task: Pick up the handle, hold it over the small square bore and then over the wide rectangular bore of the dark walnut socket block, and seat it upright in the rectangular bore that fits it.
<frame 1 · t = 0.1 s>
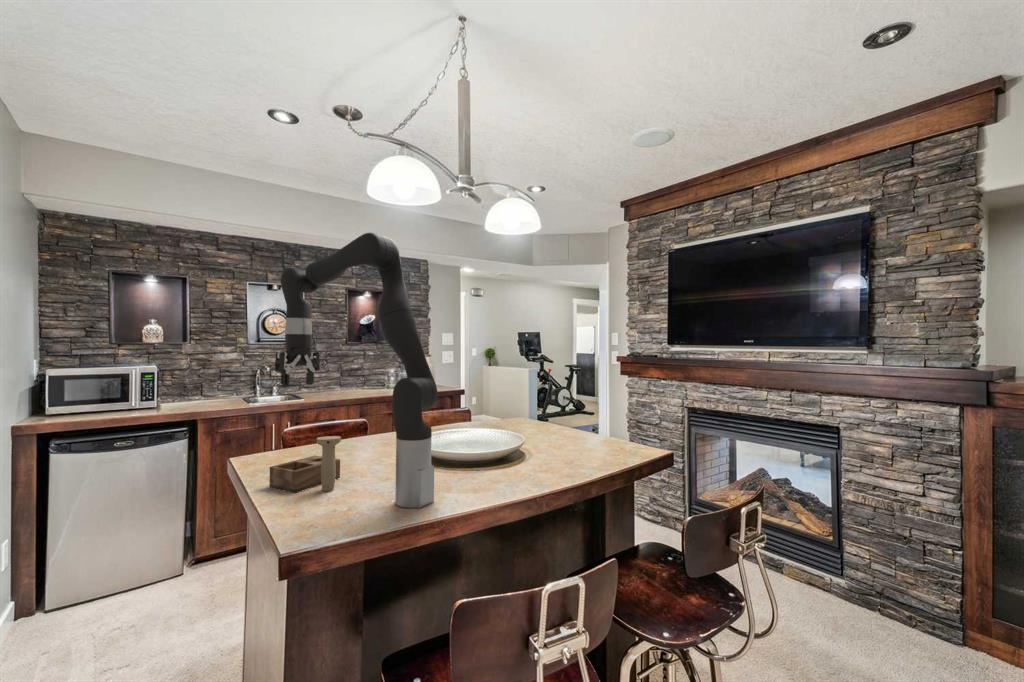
hand: (297, 385, 140), 29 cm above the countertop, tool pointing down, fingers open, 8 cm apart
socket block: (305, 482, 136), on the countertop
handle: (328, 490, 129), on the countertop
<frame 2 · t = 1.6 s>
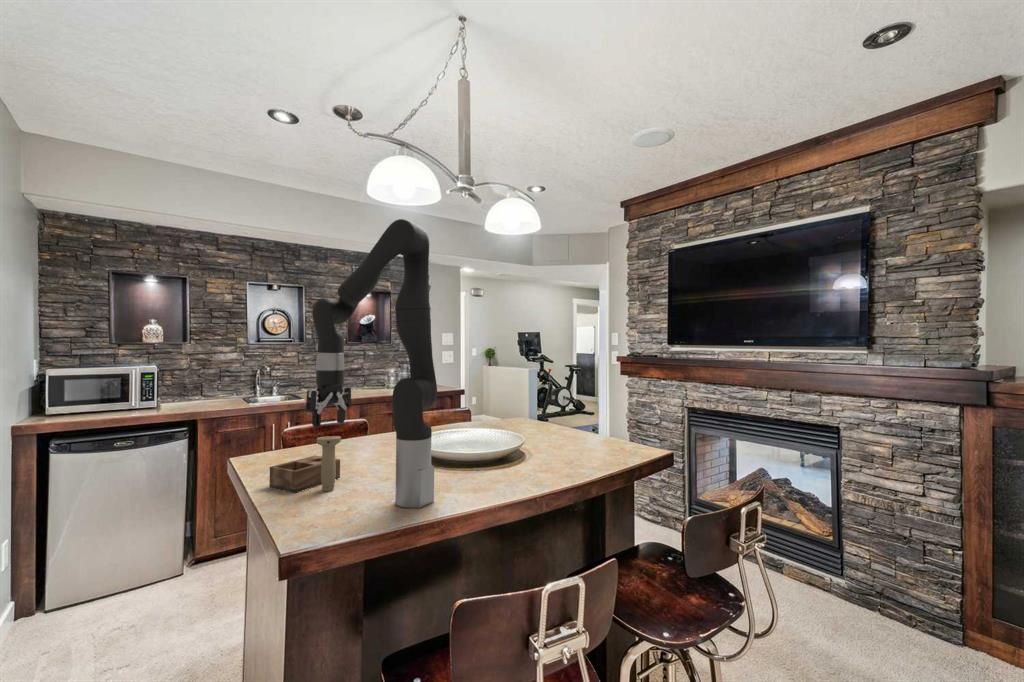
hand: (329, 424, 130), 19 cm above the countertop, tool pointing down, fingers open, 8 cm apart
nothing on the countertop moved.
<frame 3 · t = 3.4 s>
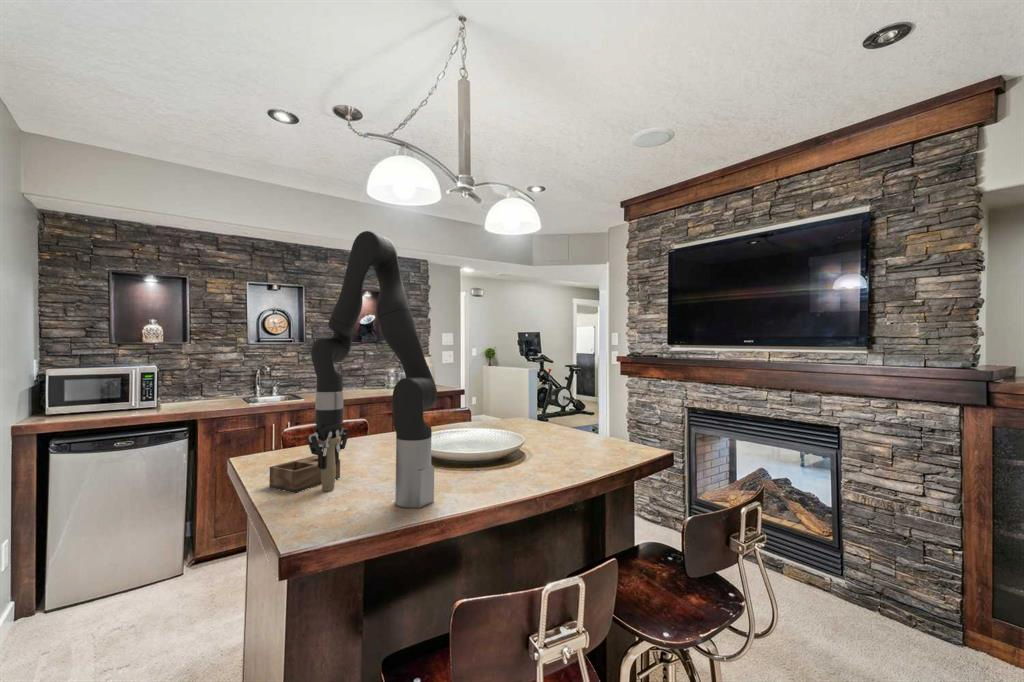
hand: (328, 466, 129), 7 cm above the countertop, tool pointing down, fingers closed on handle, 3 cm apart
handle: (328, 490, 129), on the countertop, touching gripper
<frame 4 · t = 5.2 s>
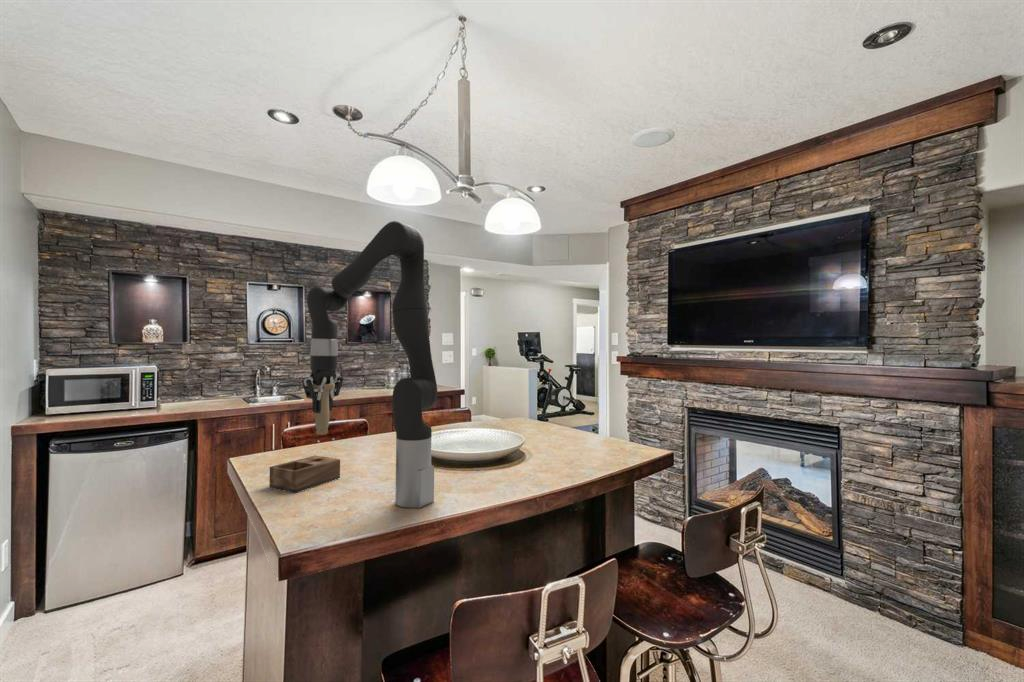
hand: (322, 411, 134), 22 cm above the countertop, tool pointing down, fingers closed on handle, 3 cm apart
handle: (321, 434, 134), point 15 cm above the countertop, touching gripper
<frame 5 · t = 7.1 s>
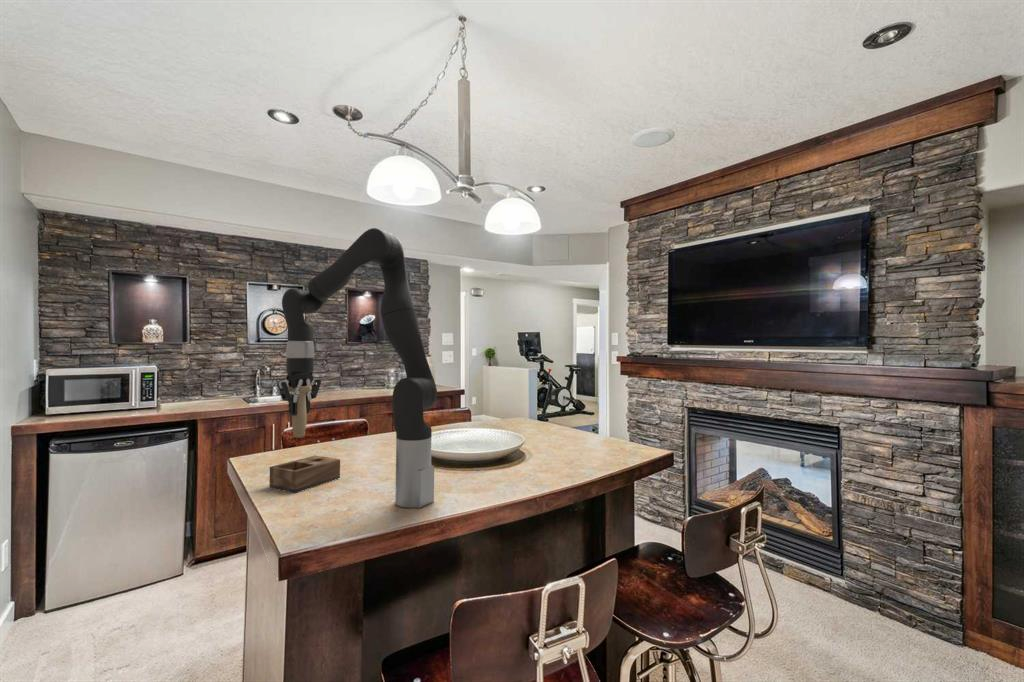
hand: (299, 414, 134), 21 cm above the countertop, tool pointing down, fingers closed on handle, 3 cm apart
handle: (299, 437, 134), point 14 cm above the countertop, touching gripper
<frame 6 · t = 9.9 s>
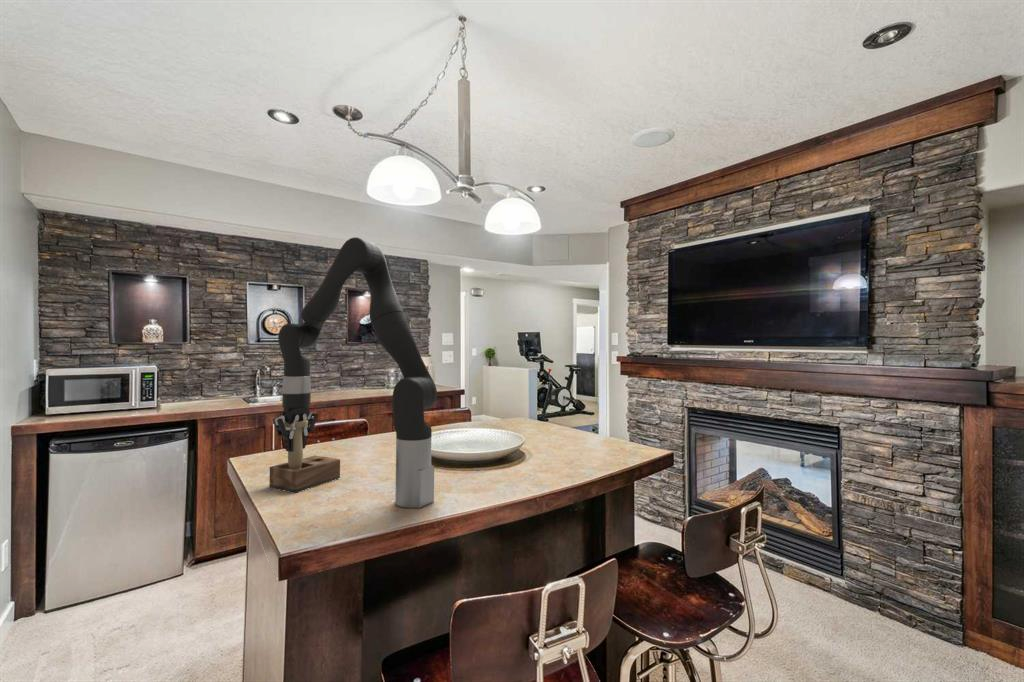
hand: (295, 449, 133), 11 cm above the countertop, tool pointing down, fingers closed on handle, 3 cm apart
handle: (295, 473, 133), point 4 cm above the countertop, touching gripper
when the fingers open (9 cm above the countertop, at t = 11.0 s): handle drops 1 cm, resting on socket block.
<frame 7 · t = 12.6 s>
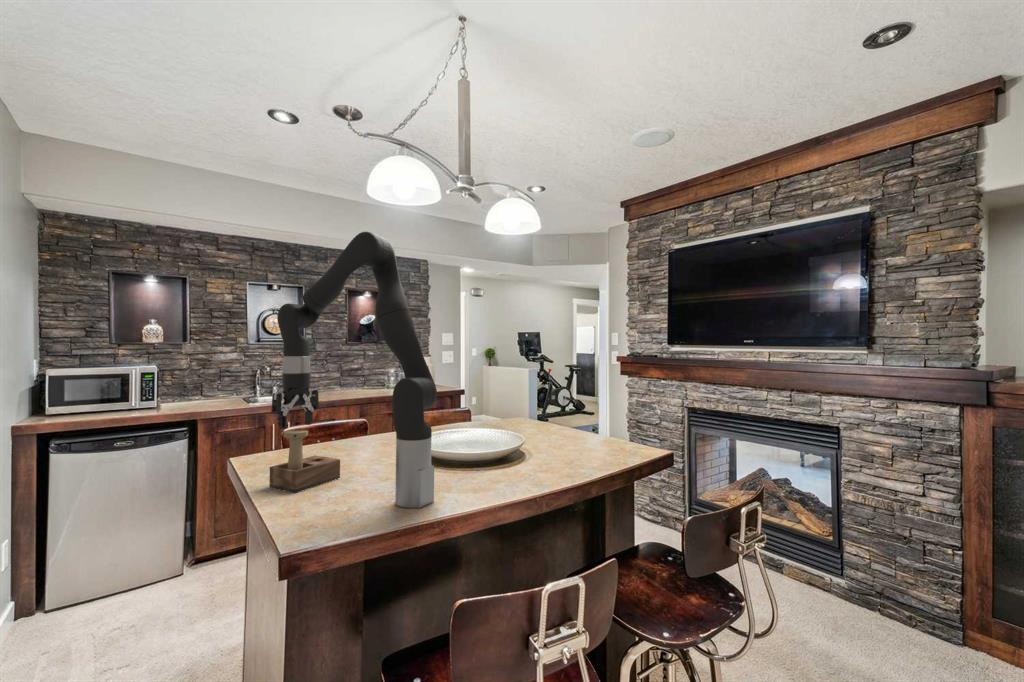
hand: (296, 426, 133), 18 cm above the countertop, tool pointing down, fingers open, 8 cm apart
handle: (295, 483, 132), point 1 cm above the countertop, touching socket block
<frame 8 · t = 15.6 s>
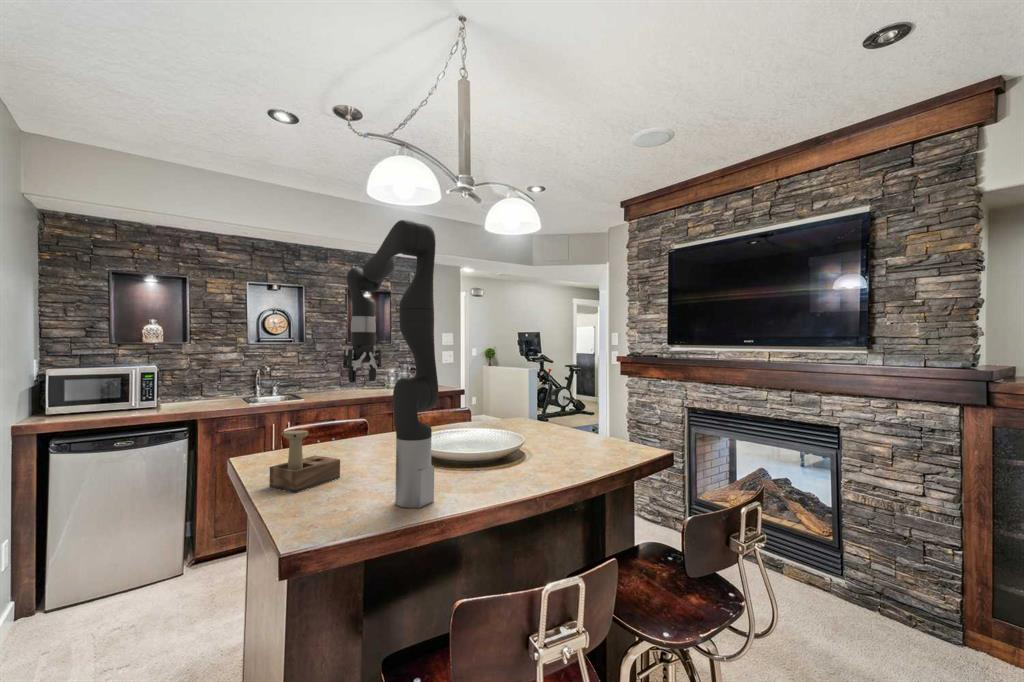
hand: (362, 381, 144), 30 cm above the countertop, tool pointing down, fingers open, 8 cm apart
nothing on the countertop moved.
at the end: handle 0.1 cm from the target spot on the socket block, point 0.8 cm above the socket block's base; handle tilted 0°; the gripper is holding nothing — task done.
